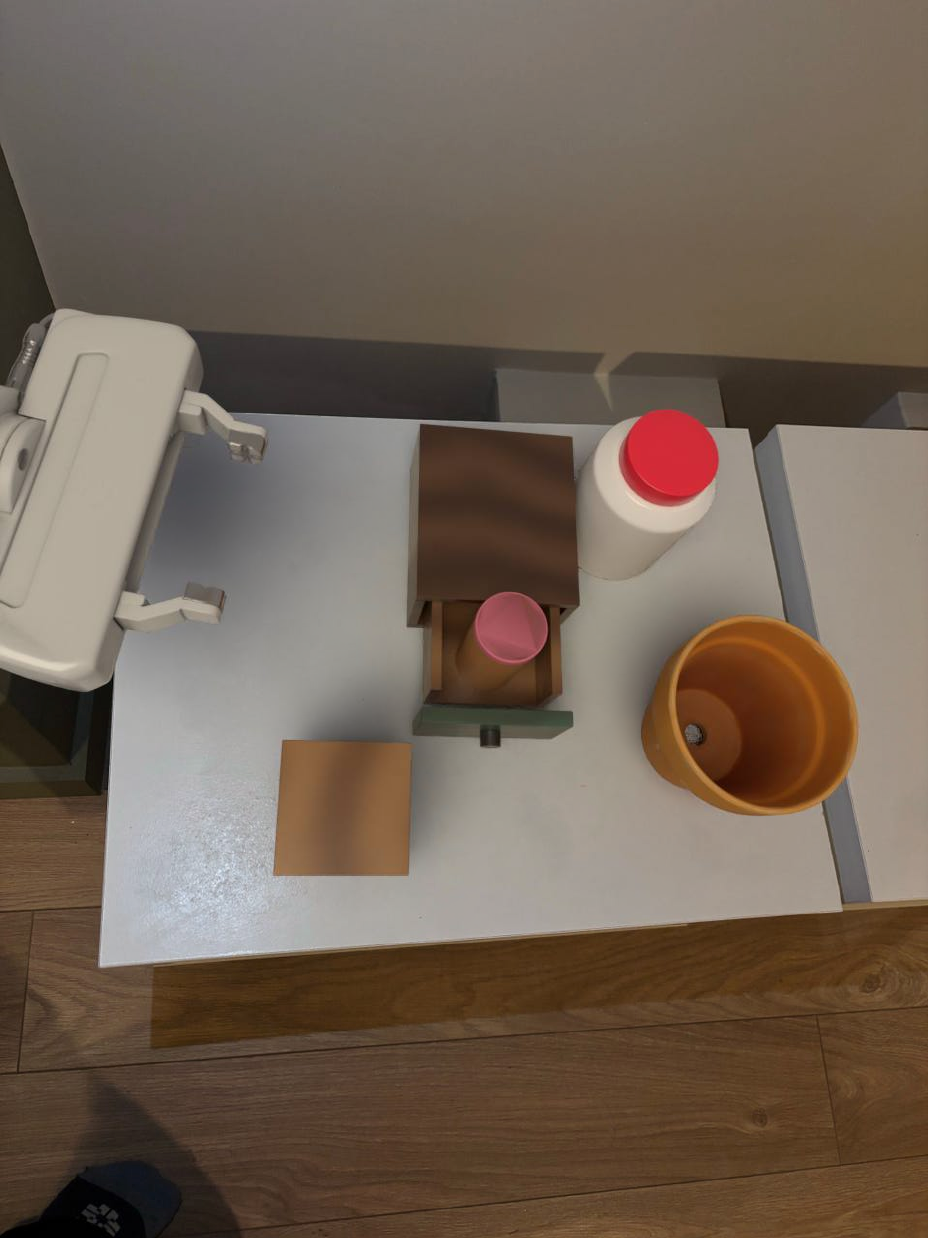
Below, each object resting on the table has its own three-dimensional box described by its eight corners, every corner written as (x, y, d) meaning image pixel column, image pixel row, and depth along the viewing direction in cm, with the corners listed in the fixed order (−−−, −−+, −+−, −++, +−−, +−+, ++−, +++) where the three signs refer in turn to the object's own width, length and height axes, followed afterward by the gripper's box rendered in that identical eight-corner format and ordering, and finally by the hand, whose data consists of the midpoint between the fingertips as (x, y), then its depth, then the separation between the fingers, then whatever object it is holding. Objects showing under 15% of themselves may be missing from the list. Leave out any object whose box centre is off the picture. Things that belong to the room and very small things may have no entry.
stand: (285, 873, 61) (272, 875, 47) (291, 766, 63) (282, 739, 50) (391, 873, 62) (409, 875, 49) (394, 768, 64) (411, 742, 51)
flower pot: (628, 836, 65) (697, 829, 53) (593, 667, 69) (651, 624, 57) (784, 810, 68) (884, 798, 56) (743, 649, 72) (828, 604, 60)
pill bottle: (541, 488, 73) (590, 403, 60) (641, 468, 76) (710, 382, 62) (575, 591, 71) (634, 526, 57) (677, 567, 73) (757, 500, 60)
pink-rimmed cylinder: (453, 691, 65) (475, 661, 55) (454, 628, 66) (475, 589, 57) (517, 693, 65) (549, 664, 56) (516, 631, 67) (546, 593, 57)
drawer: (551, 754, 66) (574, 743, 60) (412, 750, 64) (420, 739, 58) (546, 583, 70) (567, 557, 64) (415, 576, 68) (424, 548, 62)
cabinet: (552, 634, 70) (580, 605, 62) (406, 627, 68) (416, 596, 60) (547, 480, 74) (572, 436, 66) (410, 470, 72) (419, 423, 64)
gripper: (56, 338, 48) (290, 391, 49) (-69, 670, 41) (204, 719, 43) (18, 262, 42) (285, 325, 43) (-136, 636, 35) (184, 695, 37)
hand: (244, 524), depth 43 cm, fingers open, 8 cm apart
